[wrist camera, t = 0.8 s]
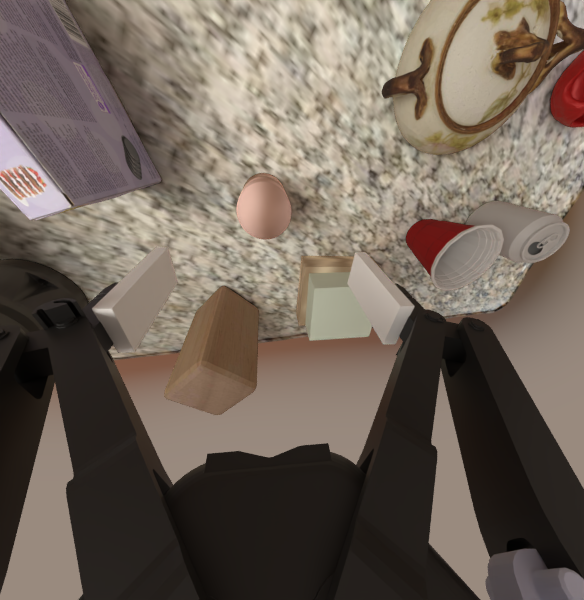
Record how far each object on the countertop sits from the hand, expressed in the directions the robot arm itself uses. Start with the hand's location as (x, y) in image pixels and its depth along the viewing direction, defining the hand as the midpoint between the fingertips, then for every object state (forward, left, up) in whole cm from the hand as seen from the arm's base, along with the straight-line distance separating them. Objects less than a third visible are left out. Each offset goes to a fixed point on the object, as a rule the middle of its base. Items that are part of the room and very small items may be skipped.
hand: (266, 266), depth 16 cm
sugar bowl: (+22, +15, -24) cm, 36 cm away
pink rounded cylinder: (0, 0, -24) cm, 24 cm away
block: (-8, -23, -24) cm, 34 cm away
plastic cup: (+30, -5, -24) cm, 39 cm away
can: (+41, -2, -24) cm, 48 cm away
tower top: (+14, -17, -19) cm, 29 cm away
